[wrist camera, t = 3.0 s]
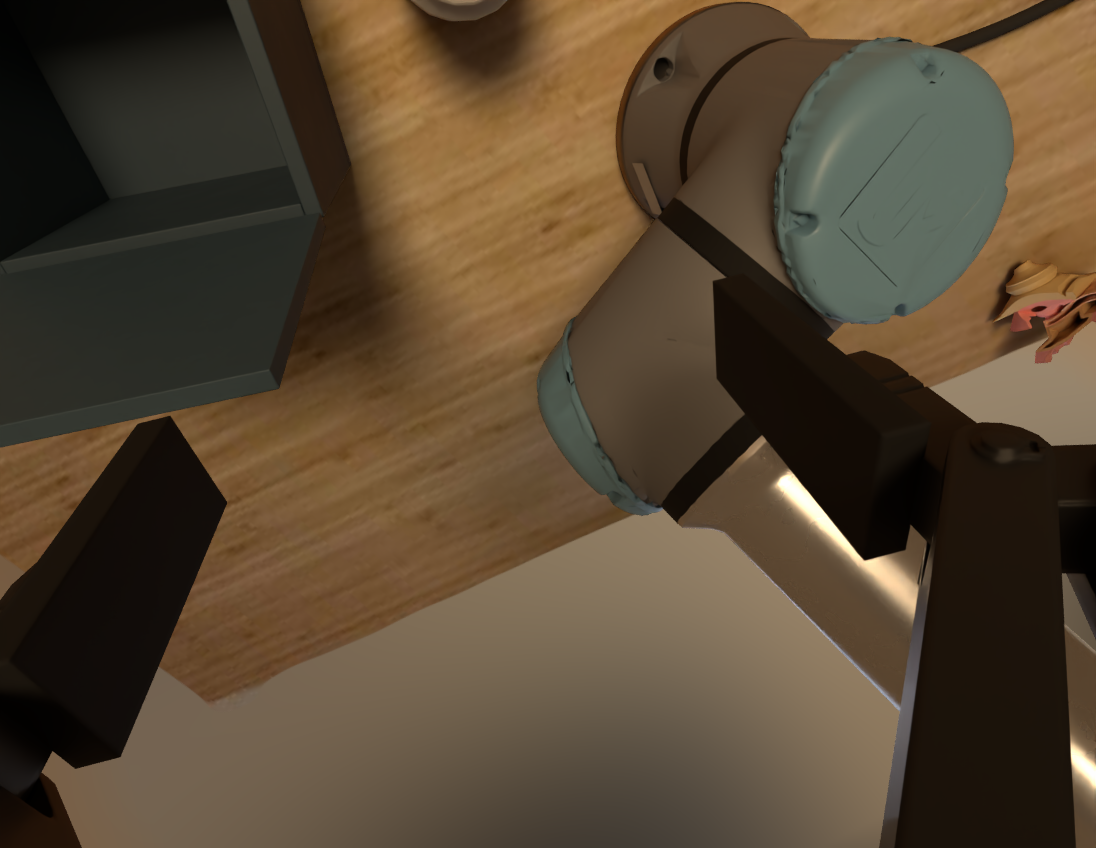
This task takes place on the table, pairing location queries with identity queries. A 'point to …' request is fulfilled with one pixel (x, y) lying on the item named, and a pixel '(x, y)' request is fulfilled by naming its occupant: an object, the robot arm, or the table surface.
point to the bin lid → (151, 328)
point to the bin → (157, 124)
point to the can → (459, 8)
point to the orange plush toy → (1050, 304)
